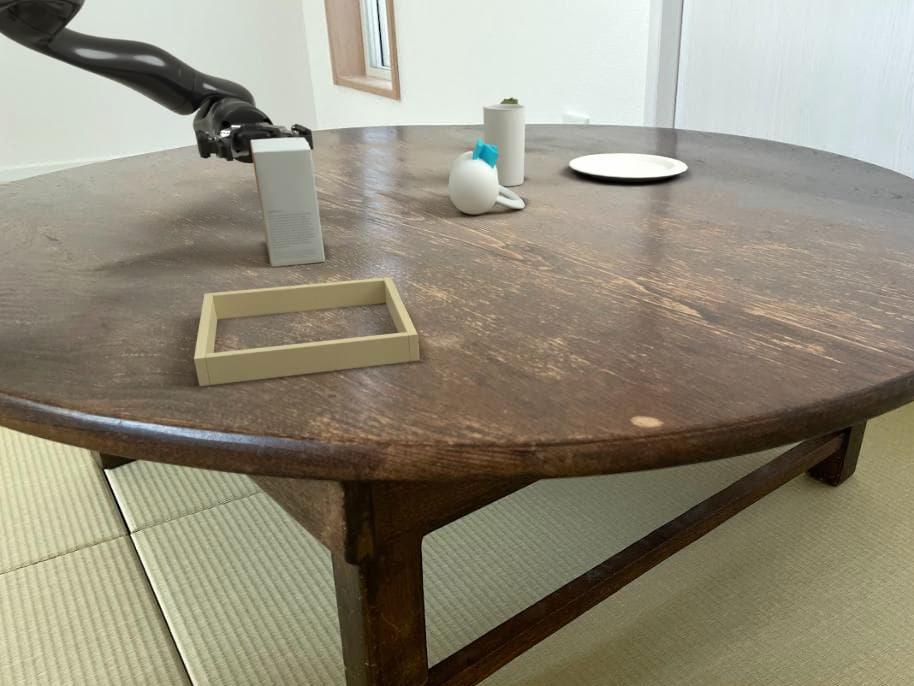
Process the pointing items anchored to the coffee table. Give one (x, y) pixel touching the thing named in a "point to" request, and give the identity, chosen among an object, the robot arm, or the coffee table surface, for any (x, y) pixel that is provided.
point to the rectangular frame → (302, 355)
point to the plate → (628, 167)
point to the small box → (288, 200)
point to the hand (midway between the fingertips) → (264, 149)
